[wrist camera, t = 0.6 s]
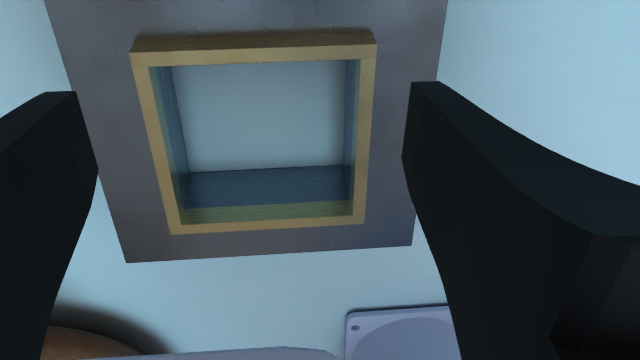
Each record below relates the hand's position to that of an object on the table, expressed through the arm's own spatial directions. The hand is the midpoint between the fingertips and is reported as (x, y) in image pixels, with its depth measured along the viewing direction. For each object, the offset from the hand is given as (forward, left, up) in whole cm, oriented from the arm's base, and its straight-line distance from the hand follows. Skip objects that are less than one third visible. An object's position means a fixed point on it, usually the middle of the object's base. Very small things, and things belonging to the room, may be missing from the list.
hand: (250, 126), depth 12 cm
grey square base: (-5, 0, -10) cm, 11 cm away
